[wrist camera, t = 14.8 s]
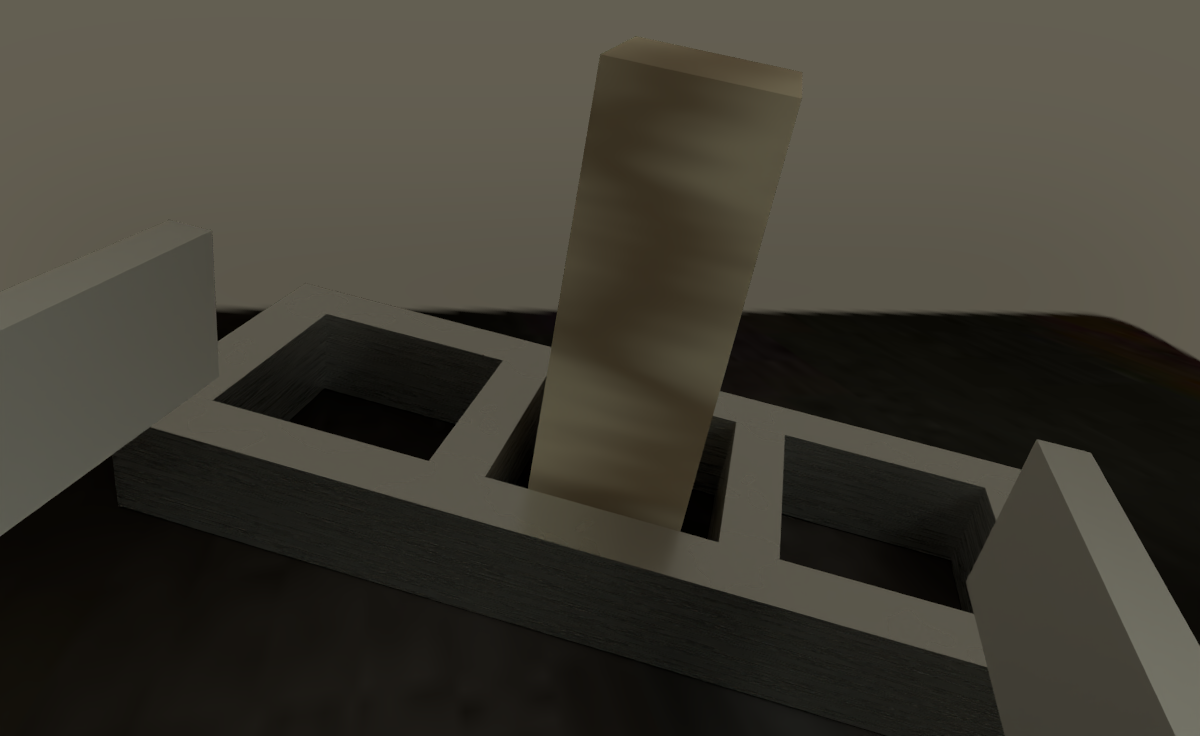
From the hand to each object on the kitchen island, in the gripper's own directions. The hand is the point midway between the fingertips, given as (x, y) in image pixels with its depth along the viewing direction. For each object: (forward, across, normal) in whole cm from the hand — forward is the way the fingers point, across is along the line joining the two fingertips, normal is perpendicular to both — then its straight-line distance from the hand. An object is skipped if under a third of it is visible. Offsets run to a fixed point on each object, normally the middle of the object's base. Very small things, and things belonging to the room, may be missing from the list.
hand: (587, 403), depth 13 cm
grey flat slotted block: (+10, 0, -10) cm, 14 cm away
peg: (+10, 0, -10) cm, 14 cm away
